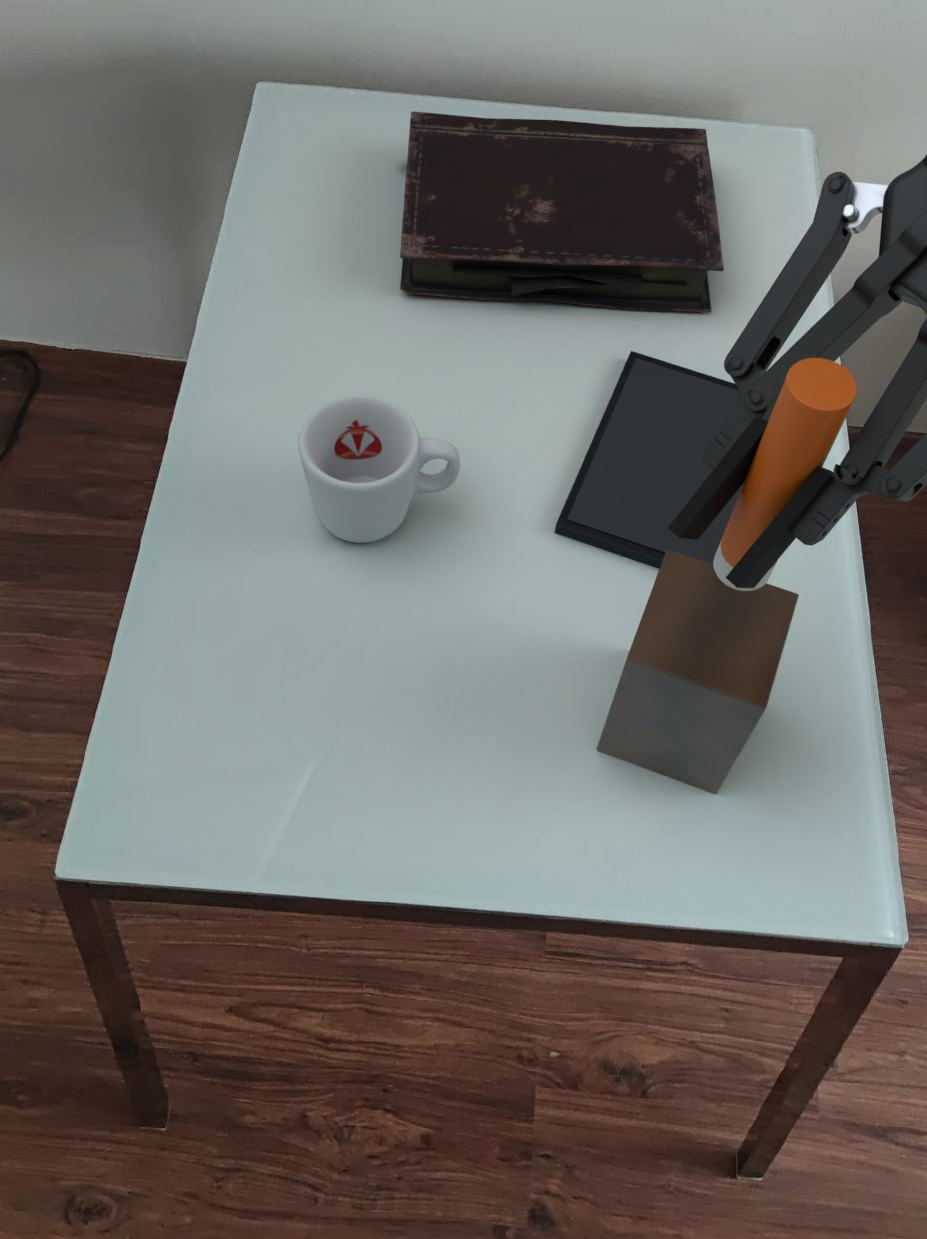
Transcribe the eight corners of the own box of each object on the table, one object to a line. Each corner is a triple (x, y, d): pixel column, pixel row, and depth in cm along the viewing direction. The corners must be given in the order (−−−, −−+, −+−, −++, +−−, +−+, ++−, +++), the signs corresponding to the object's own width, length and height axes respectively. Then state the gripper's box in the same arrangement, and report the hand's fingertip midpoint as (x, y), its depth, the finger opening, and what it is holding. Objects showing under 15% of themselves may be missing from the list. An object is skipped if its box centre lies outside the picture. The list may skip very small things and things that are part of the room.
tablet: (777, 406, 93) (781, 396, 92) (716, 588, 85) (720, 580, 84) (628, 359, 95) (631, 349, 94) (554, 532, 86) (555, 523, 85)
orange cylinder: (776, 554, 64) (863, 369, 52) (762, 599, 62) (849, 419, 51) (721, 536, 64) (795, 348, 53) (706, 580, 63) (779, 397, 51)
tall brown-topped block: (747, 690, 80) (799, 593, 70) (716, 794, 76) (766, 708, 66) (632, 649, 82) (666, 548, 71) (595, 750, 78) (626, 658, 67)
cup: (449, 460, 89) (454, 386, 82) (464, 549, 85) (470, 479, 78) (301, 471, 88) (294, 397, 81) (309, 562, 84) (302, 492, 77)
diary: (410, 152, 107) (411, 101, 102) (694, 168, 107) (706, 118, 103) (399, 305, 97) (399, 257, 93) (710, 322, 98) (725, 275, 93)
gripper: (1237, 246, 51) (859, 666, 59) (927, 58, 56) (621, 463, 64) (1249, 195, 44) (822, 675, 52) (897, -12, 50) (561, 449, 58)
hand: (711, 557), depth 58 cm, fingers closed on orange cylinder, 3 cm apart
